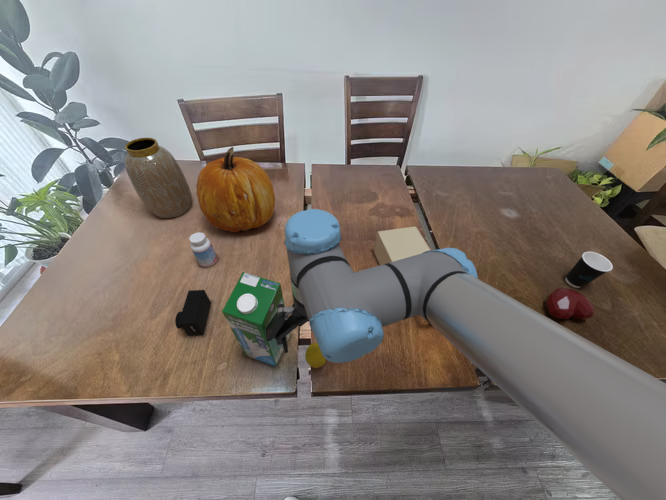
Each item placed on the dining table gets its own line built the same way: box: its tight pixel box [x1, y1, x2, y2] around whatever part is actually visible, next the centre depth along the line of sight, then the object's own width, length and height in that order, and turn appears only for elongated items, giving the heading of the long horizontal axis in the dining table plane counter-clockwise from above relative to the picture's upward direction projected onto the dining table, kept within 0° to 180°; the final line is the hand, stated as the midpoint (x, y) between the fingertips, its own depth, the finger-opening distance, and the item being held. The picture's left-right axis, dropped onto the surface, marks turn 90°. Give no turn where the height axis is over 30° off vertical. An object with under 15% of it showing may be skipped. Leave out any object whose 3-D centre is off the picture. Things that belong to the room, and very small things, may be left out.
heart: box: [545, 287, 596, 320], centre depth 82 cm, size 12×8×10 cm
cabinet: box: [373, 225, 431, 266], centre depth 91 cm, size 15×14×10 cm
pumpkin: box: [196, 146, 276, 233], centre depth 97 cm, size 26×23×30 cm
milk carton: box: [221, 271, 291, 367], centre depth 65 cm, size 9×9×25 cm
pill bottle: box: [188, 231, 218, 268], centre depth 89 cm, size 6×6×11 cm
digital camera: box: [174, 289, 212, 337], centre depth 76 cm, size 10×5×7 cm, turn 5°
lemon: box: [304, 342, 328, 369], centre depth 68 cm, size 6×6×8 cm
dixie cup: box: [564, 251, 614, 289], centre depth 88 cm, size 8×8×11 cm
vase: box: [124, 137, 193, 219], centre depth 101 cm, size 17×17×27 cm
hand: (315, 341), depth 63 cm, fingers open, 13 cm apart
